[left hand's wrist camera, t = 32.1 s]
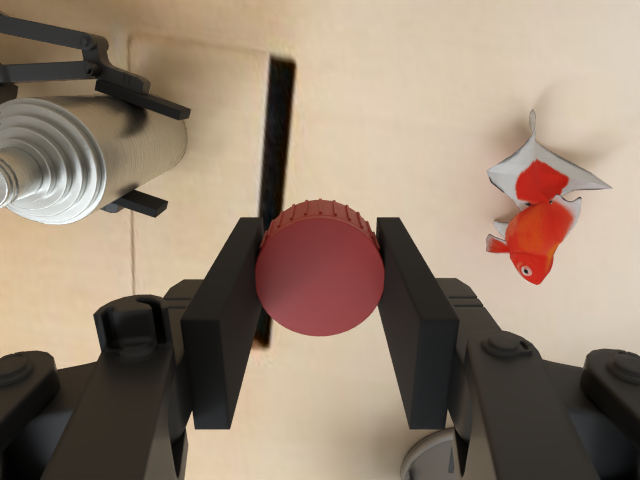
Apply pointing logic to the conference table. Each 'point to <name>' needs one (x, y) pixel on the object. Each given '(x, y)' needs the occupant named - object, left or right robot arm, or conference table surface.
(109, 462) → the left robot arm
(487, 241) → the fish
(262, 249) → the cap
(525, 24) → the conference table surface
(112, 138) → the bottle
